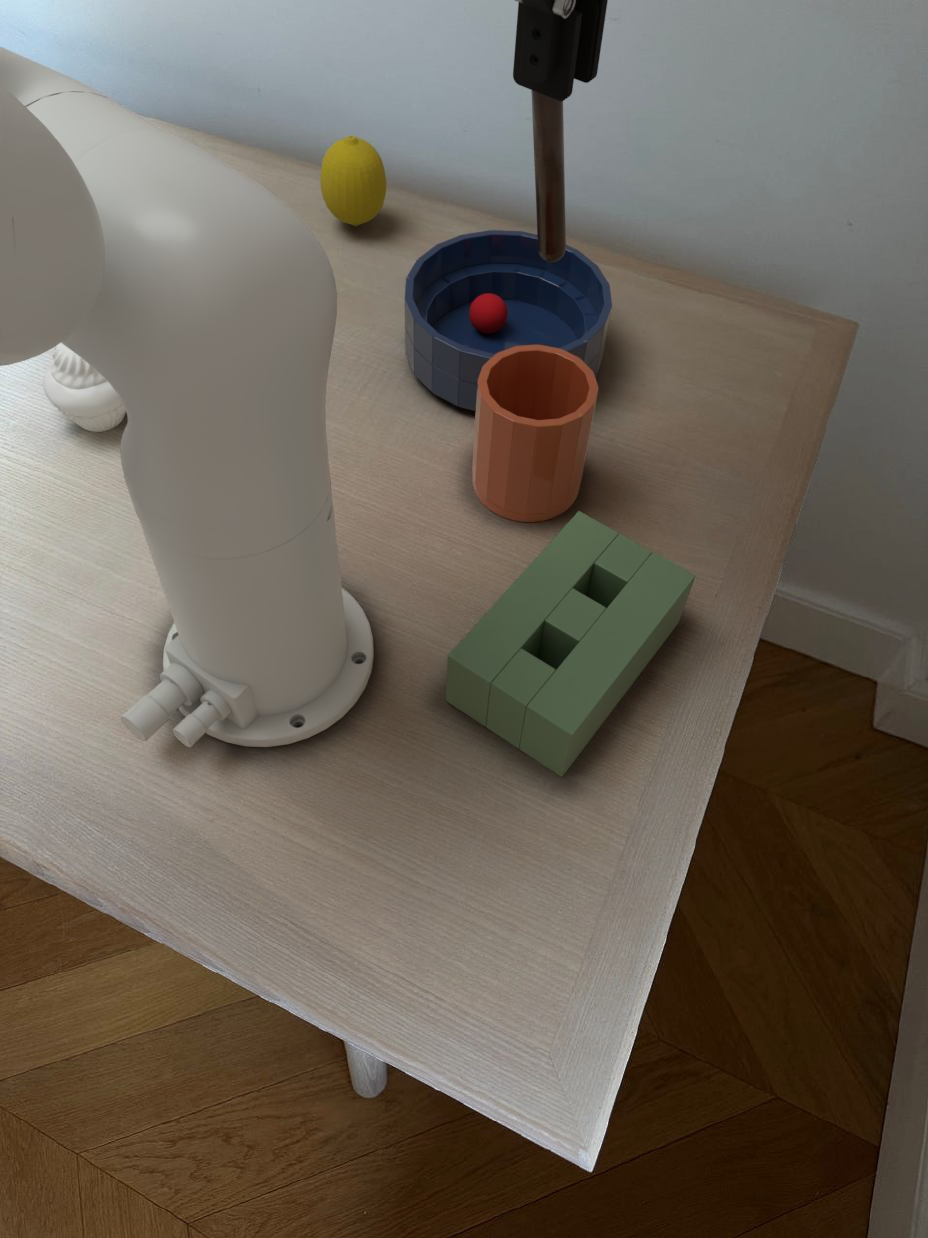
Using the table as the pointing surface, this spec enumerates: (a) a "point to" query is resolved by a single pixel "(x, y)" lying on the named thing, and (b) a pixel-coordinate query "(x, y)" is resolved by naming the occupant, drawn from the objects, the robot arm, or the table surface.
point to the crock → (532, 431)
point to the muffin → (81, 392)
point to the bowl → (534, 296)
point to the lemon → (353, 180)
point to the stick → (549, 176)
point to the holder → (567, 641)
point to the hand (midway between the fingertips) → (554, 78)
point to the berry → (488, 313)
